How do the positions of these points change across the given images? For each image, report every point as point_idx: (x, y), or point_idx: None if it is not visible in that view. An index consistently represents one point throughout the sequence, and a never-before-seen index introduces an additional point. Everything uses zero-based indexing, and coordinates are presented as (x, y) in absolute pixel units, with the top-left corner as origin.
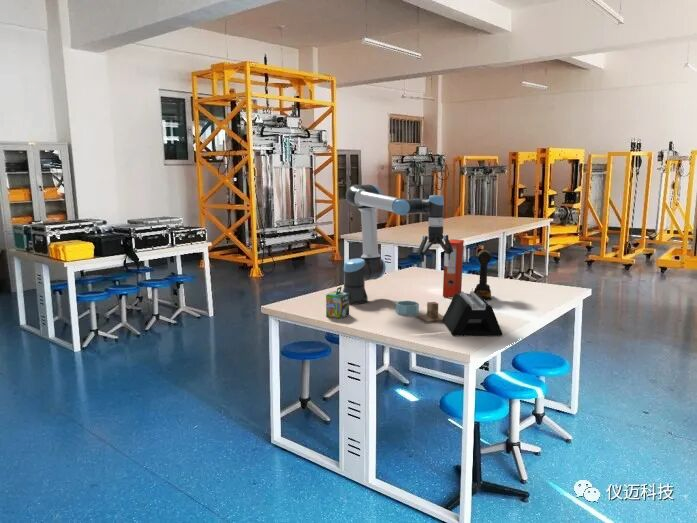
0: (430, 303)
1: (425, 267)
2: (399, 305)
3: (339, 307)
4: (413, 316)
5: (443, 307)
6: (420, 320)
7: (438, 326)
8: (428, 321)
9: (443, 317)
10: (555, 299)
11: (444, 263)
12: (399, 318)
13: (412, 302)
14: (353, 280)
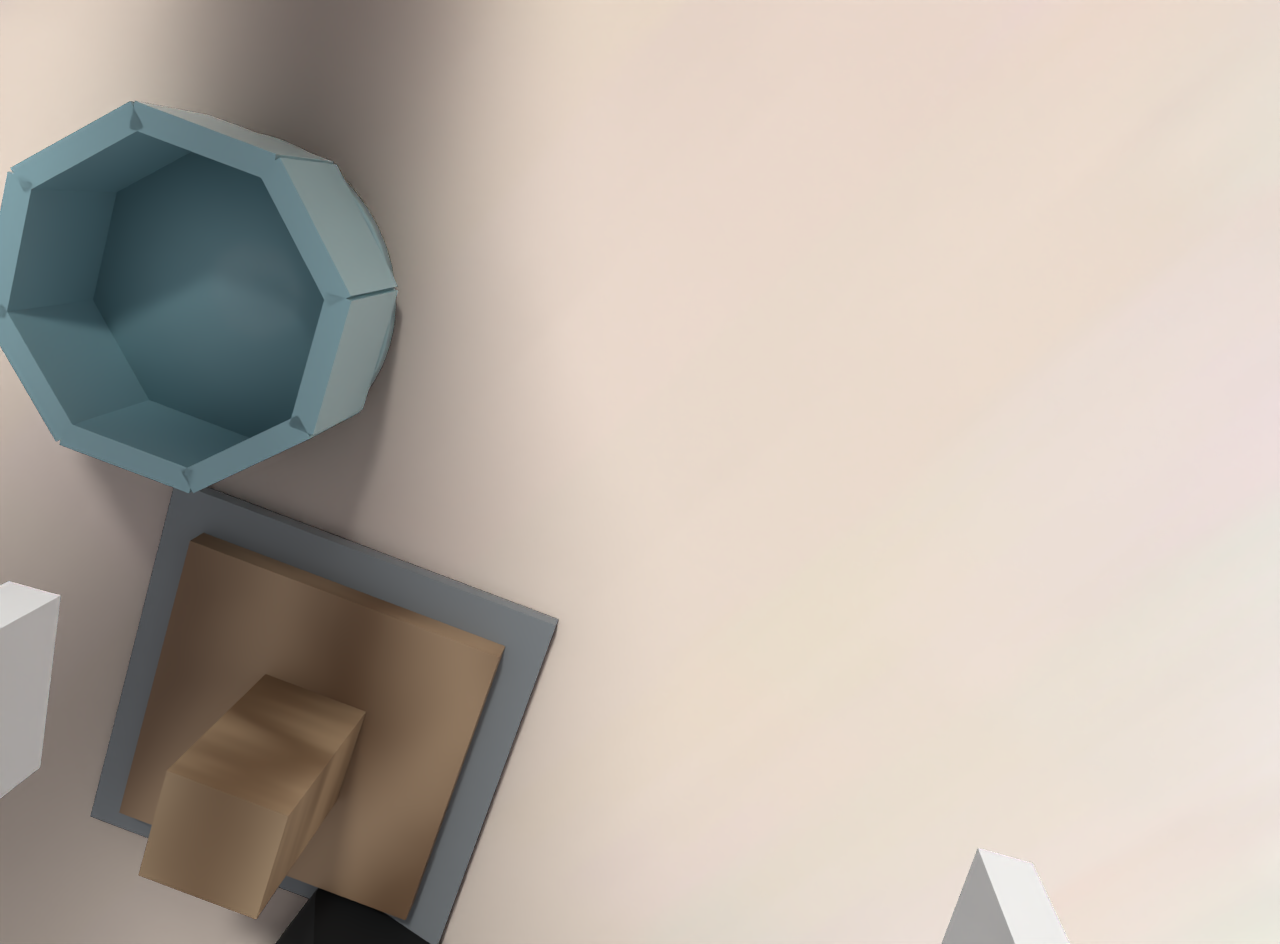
0: (161, 844)
1: (15, 779)
2: None
3: None
4: (185, 498)
5: (966, 349)
6: (140, 684)
7: (197, 923)
8: (146, 817)
9: (311, 918)
10: None
11: (995, 922)
12: (16, 409)
13: (314, 272)
14: None
